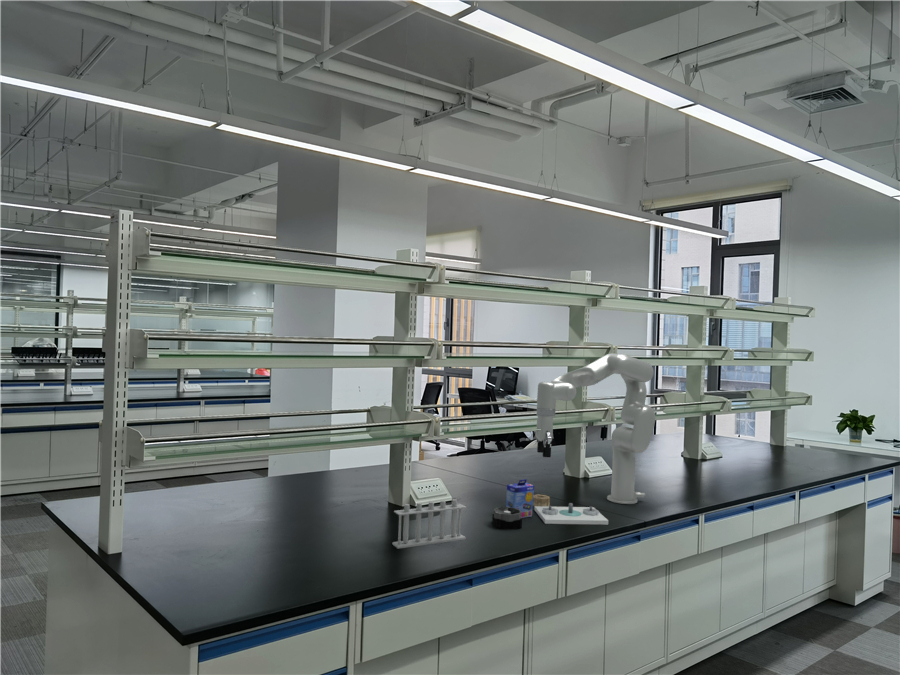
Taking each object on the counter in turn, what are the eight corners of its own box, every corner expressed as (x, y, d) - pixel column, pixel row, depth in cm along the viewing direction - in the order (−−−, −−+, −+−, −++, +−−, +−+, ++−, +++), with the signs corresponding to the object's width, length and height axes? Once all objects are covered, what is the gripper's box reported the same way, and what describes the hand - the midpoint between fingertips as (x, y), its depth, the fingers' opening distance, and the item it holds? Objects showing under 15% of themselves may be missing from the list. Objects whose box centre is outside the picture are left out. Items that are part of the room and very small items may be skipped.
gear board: (593, 511, 260) (594, 498, 260) (608, 524, 242) (608, 510, 242) (534, 510, 258) (535, 497, 258) (545, 523, 240) (545, 509, 240)
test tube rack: (397, 549, 206) (399, 507, 206) (392, 544, 210) (393, 503, 210) (465, 539, 218) (467, 500, 218) (459, 535, 222) (460, 497, 222)
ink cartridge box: (513, 520, 243) (515, 481, 243) (504, 516, 248) (506, 478, 248) (533, 516, 249) (535, 478, 249) (524, 512, 253) (525, 475, 253)
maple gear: (547, 503, 270) (547, 494, 269) (551, 508, 262) (552, 499, 262) (529, 502, 269) (529, 494, 269) (533, 507, 261) (533, 498, 261)
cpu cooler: (517, 506, 242) (525, 514, 232) (516, 521, 242) (524, 530, 232) (490, 506, 240) (496, 514, 230) (489, 521, 240) (496, 530, 230)
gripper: (532, 409, 272) (530, 450, 272) (541, 415, 254) (539, 458, 255) (549, 410, 272) (547, 451, 272) (560, 415, 255) (558, 459, 255)
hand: (543, 454), depth 263 cm, fingers open, 9 cm apart
